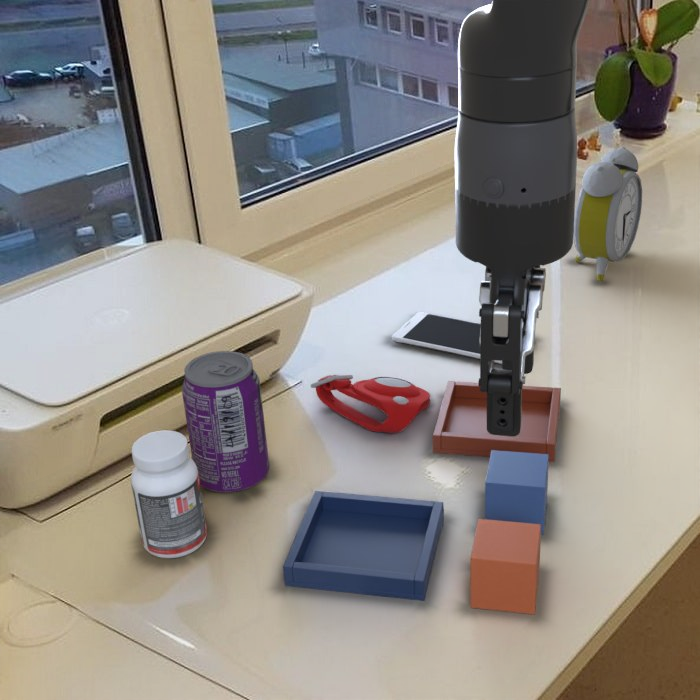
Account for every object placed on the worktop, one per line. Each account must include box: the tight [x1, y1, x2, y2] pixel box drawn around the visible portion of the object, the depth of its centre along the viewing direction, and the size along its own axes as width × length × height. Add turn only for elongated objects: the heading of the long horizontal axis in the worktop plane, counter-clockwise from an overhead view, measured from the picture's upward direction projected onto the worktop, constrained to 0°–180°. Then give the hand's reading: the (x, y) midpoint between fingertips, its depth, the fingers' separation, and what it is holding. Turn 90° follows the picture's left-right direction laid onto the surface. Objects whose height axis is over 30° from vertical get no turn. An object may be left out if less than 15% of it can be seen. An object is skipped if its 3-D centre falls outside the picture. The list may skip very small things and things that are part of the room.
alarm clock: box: [573, 146, 643, 282], centre depth 136 cm, size 12×7×15 cm, turn 148°
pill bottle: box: [130, 429, 208, 559], centre depth 91 cm, size 6×6×10 cm
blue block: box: [484, 450, 550, 536], centre depth 93 cm, size 5×5×5 cm
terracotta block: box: [470, 518, 542, 615], centre depth 84 cm, size 5×5×5 cm
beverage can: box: [181, 350, 270, 493], centre depth 99 cm, size 7×7×12 cm
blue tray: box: [282, 490, 445, 602], centre depth 90 cm, size 12×11×2 cm
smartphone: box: [391, 311, 502, 365], centre depth 123 cm, size 8×1×15 cm
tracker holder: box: [310, 374, 431, 434], centre depth 109 cm, size 12×4×10 cm
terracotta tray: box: [432, 380, 562, 463], centre depth 106 cm, size 12×11×2 cm
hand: (511, 400), depth 75 cm, fingers open, 8 cm apart
